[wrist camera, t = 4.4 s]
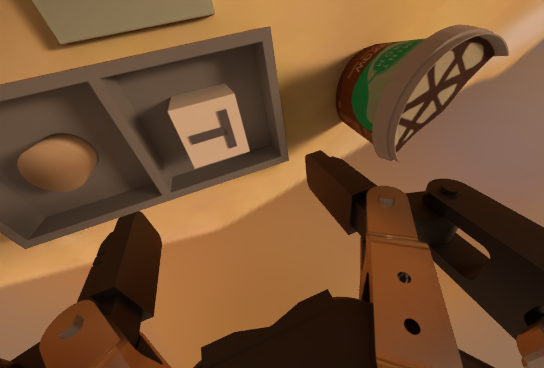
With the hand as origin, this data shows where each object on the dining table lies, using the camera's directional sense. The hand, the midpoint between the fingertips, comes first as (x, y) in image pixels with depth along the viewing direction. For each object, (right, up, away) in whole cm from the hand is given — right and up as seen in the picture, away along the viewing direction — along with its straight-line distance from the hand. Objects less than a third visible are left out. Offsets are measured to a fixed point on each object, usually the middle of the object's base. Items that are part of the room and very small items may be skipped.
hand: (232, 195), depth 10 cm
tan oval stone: (-16, +3, +9) cm, 19 cm away
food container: (+12, +13, +14) cm, 23 cm away
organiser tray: (-10, +5, +10) cm, 15 cm away
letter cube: (-4, +7, +11) cm, 14 cm away
